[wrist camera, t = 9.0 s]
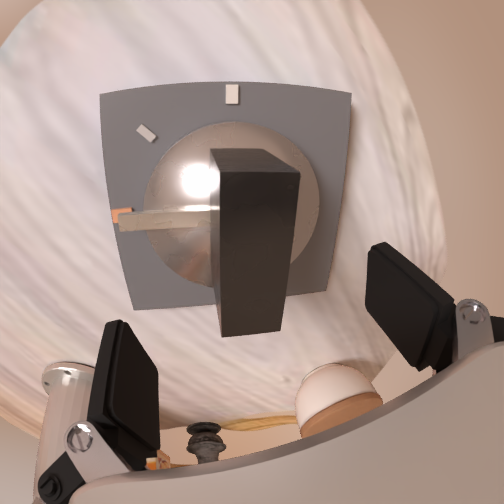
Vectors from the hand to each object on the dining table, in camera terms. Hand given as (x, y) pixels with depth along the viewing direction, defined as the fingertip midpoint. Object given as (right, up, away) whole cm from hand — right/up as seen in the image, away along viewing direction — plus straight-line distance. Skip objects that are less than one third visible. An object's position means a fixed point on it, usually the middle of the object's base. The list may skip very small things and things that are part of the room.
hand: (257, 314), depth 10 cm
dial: (-2, +5, +8) cm, 10 cm away
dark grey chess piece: (-8, -25, +26) cm, 37 cm away
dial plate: (-2, +6, +10) cm, 12 cm away
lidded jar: (+9, -14, +25) cm, 30 cm away
